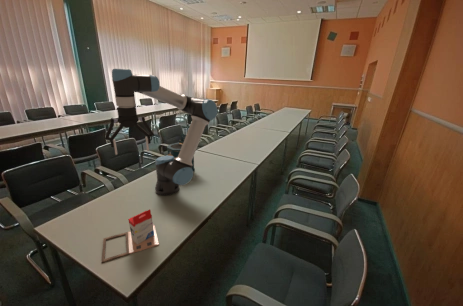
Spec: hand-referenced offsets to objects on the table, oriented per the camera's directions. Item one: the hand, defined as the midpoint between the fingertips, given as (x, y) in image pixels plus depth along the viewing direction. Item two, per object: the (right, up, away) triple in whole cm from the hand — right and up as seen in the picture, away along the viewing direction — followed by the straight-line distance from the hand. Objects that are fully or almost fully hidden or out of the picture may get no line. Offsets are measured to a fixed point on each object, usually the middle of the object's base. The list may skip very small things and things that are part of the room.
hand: (132, 151), depth 97 cm
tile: (+6, -40, -3) cm, 41 cm away
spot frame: (-4, -42, -7) cm, 43 cm away
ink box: (+6, -40, -3) cm, 41 cm away
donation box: (+6, -15, +66) cm, 68 cm away
